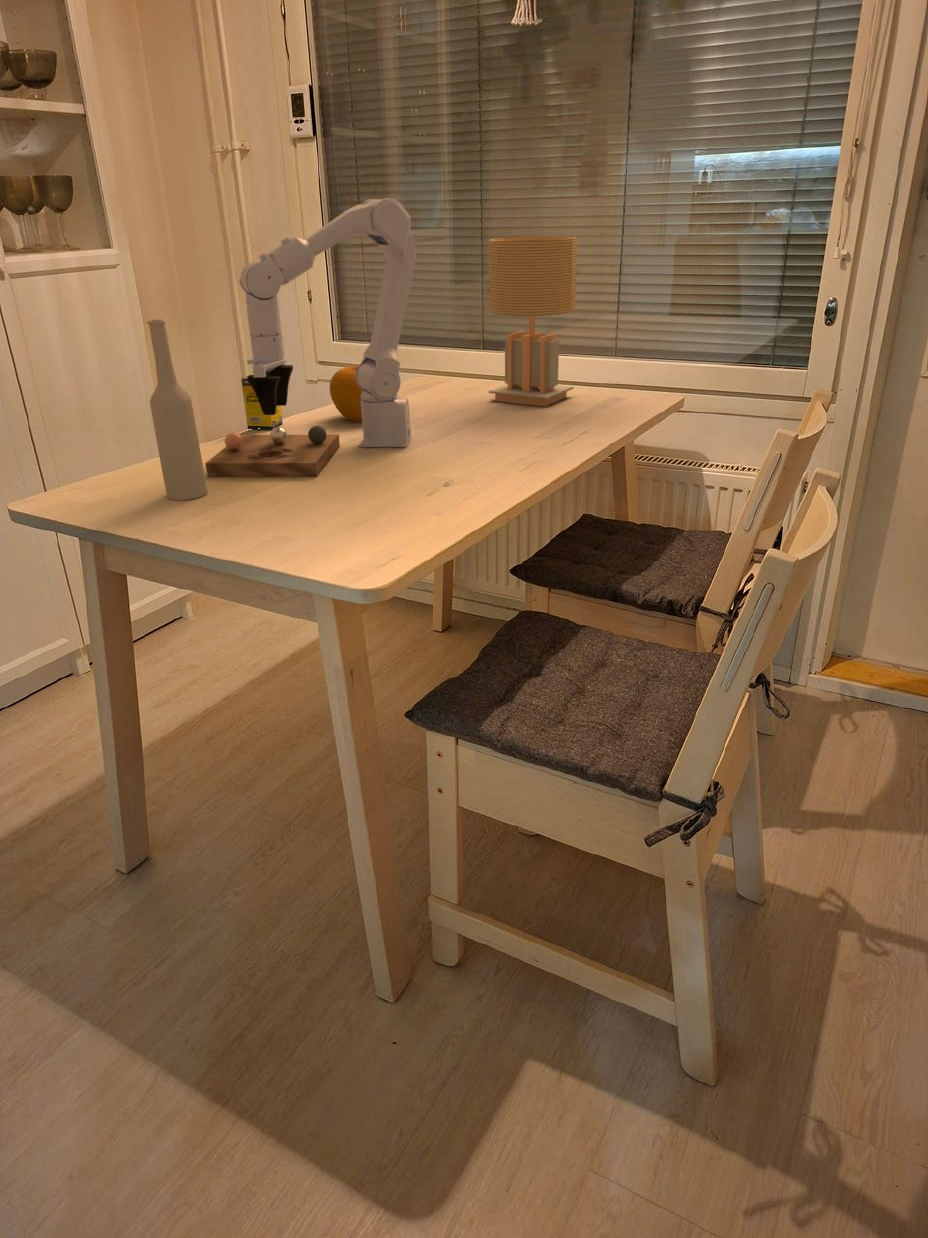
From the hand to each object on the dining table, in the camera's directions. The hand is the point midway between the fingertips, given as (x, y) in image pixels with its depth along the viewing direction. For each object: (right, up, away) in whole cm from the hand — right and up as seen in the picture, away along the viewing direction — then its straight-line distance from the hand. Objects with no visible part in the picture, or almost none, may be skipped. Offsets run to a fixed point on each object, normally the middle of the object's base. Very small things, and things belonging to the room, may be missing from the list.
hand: (275, 409), depth 158 cm
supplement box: (-8, +3, +26) cm, 28 cm away
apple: (+12, +6, +31) cm, 34 cm away
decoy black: (+8, -4, +2) cm, 9 cm away
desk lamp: (+52, +14, +45) cm, 70 cm away
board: (0, -9, +1) cm, 9 cm away
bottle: (-11, -18, -16) cm, 27 cm away
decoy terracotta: (-8, -6, -1) cm, 10 cm away
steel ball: (0, -4, +2) cm, 5 cm away
